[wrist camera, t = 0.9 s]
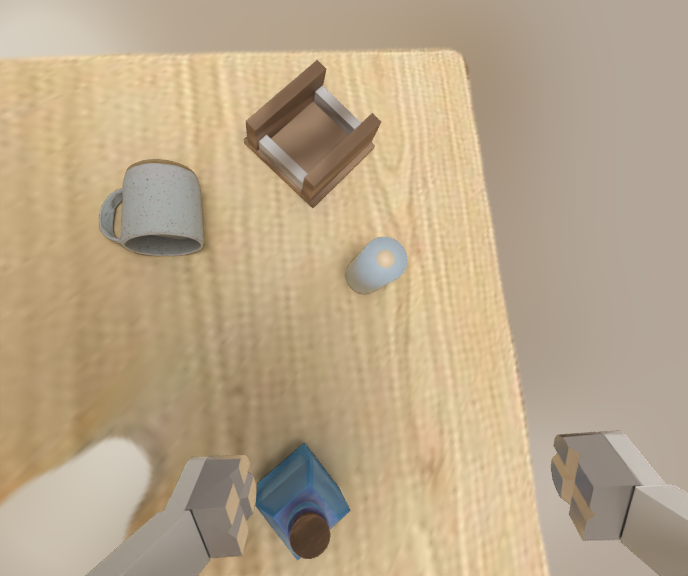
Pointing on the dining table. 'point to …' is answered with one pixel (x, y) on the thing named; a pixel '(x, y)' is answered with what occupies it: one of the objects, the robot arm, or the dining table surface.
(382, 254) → the paper roll
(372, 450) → the dining table surface
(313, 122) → the holder
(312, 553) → the perfume bottle
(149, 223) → the ceramic mug
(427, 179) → the dining table surface
